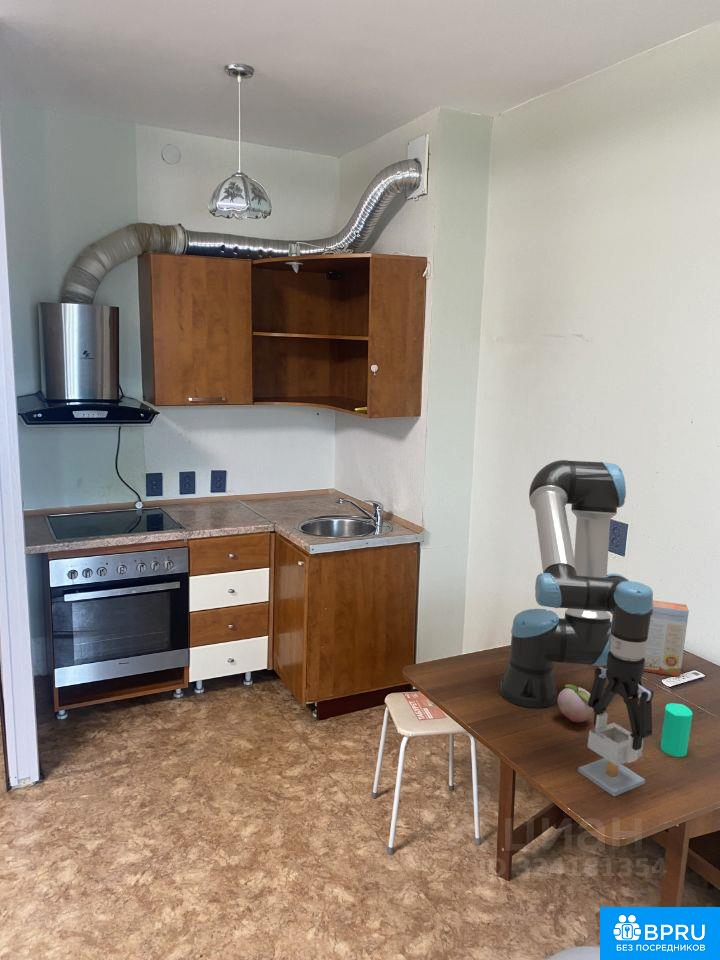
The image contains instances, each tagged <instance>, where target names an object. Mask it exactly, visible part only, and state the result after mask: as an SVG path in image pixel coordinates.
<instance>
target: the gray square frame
mask: <svg viewBox="0 0 720 960" xmlns="http://www.w3.org/2000/svg"><path fill="white" fill-rule="evenodd" d="M588 732H589V733H588V739H587V746H586V747H587V748H588V749H590V750H591V751H593V752H595V753H596V754H598V756H601V757H602V758H605V759H607V760H608V761H610V762H611V763H613V764H614V765H616V766H617V765H620V764H622V765H623V764H625V763H626V762H625V761H626V754H627V745H628V737H629V734H630V733H632V731H629V730H627V729H626V728H624V727H622V726H621V725H619V724H617V723H615V722H612V723H607V725H605V726H602V727H599V728H596V729H595V728H593V729H590V730H589V731H588ZM643 747H644V738H643V739H642V746H641V749H639V750H638V754H637V759H640V758H642V755H643Z"/></svg>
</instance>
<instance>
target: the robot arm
mask: <svg viewBox="0 0 720 960" xmlns="http://www.w3.org/2000/svg"><path fill="white" fill-rule="evenodd" d="M626 489H627V488H626V480H625V475H624V474H623V471H622V469H621V467H620V466H619V465H618V464H615V463H611V462H604V461H600V462H599V461H580V460H568V459H561V460H555V461H552V462H550V463H548V464H547V465H545V466H543V467H542V468H541V469H540V470H538V472H537V473H536V475H535V476H534V477H533V479H532V481H531V483H530V486H529V493H528V495H529V496H528V497H529V505H530V506H531V508H532V509H533V510H534V514H535V522H536V528H537V537H538V543H539V550H540V560H541V568H542V572H540V573H539V574H538V575H537V577H536V578H535V579H536V580H535V587H534V590H535V591H534V592H535V595H534V597H535V601H536V603H537V605H538V606H542V607H547V608H554V609H566V610H565V611H564V618H560V617H559V616H558V614H557V613H556V612H555V611H552V610H547V609H545V608H544V609H543V608H530V609H525V610H522V611H521V612H518V613H517V614H516V615H515V616H514V618H513V622H512V626H511V627H512V628H511V630H510V633H511V639H510V647H509V648H510V650H509V660H508V661H509V662H508V666H507V667H506V670H505V672H504V675H503V677H502V679H501V681H500V687H499V692H500V695H501V696H502V697H503V698H504V699H505V700H507V701H509V702H510V703H513V704H515V705H518V706H522V707H526V708H532V709H535V708H536V709H539V708H548V707H550V706H552V705H554V704H555V703H556V702H557V699H558V688H557V686H556V679H555V677H554V663H559V664H560V663H561V664H576V665H585V666H586V665H587V666H590V667H592V666H599V667H596V668H594V680H593V684H592V687H591V691H590V697H589V701H588V706H589V707H592V708H593V710H594V711H593V713H594V715H593V726H595V728H594V729H596V728H599V727H602V726H605V725H608V716H609V714H608V713H607V712H606V711H608V709H607V708H608V707H609V705H610V703H611V702H612V700H613V698H614V697H615V696H616V694H617V695H619V697H621V698H622V700H623V703H624V704H625V705H626V711H627V716H628V720H629V723H630V728H631V733H630V734H629V737H628V745H627V754H626V761H625V763H627V764H630V763H633V762H636V761H638V760H637V759H638V758H637V754H638V750H639V749H641V746H642V739H643V740H644V739H645V738H648V737H650V736H652V735H653V710H652V707H653V706H652V700H653V698H654V691H653V690H651V689H649V690H648V689H646V688H645V687H644V686H643V684H642V677H643V675H644V672H645V671H644V664H645V659H644V657H645V656H646V650H647V641H648V632H649V625H650V618H651V611H652V607H653V597H654V591H653V589H652V588H651V587H650V586H649V585H646V584H644V583H642V582H638V581H632V580H629V579H628V578H626V577H625V576H623V575H622V574H619V573H608V563H609V549H610V547H609V546H610V531H611V529H610V528H611V520H612V519H613V518H614V517H615V516H616V515H618V511H617V510H618V509H619V508H622V507H623V506H624V505H625V502H626V500H625V499H626V496H627V495H626V494H627V492H626V491H627V490H626ZM567 504H568V505H569V504H570V505H571V512H572V514H574V516H576V525H575V539H574V541H575V543H574V551H573V544H572V539H571V533H570V528H569V521H568V517H567V516H568V515H567V511H566V510H567V509H566V505H567ZM609 613H610V614H611V615H610V614H609ZM607 681H608V684H607V685H606V682H607ZM605 686H606V687H605Z"/></svg>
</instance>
